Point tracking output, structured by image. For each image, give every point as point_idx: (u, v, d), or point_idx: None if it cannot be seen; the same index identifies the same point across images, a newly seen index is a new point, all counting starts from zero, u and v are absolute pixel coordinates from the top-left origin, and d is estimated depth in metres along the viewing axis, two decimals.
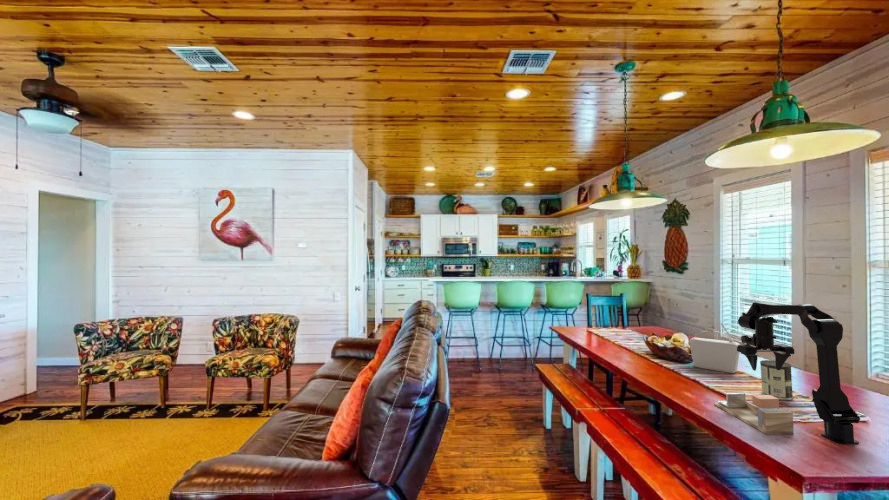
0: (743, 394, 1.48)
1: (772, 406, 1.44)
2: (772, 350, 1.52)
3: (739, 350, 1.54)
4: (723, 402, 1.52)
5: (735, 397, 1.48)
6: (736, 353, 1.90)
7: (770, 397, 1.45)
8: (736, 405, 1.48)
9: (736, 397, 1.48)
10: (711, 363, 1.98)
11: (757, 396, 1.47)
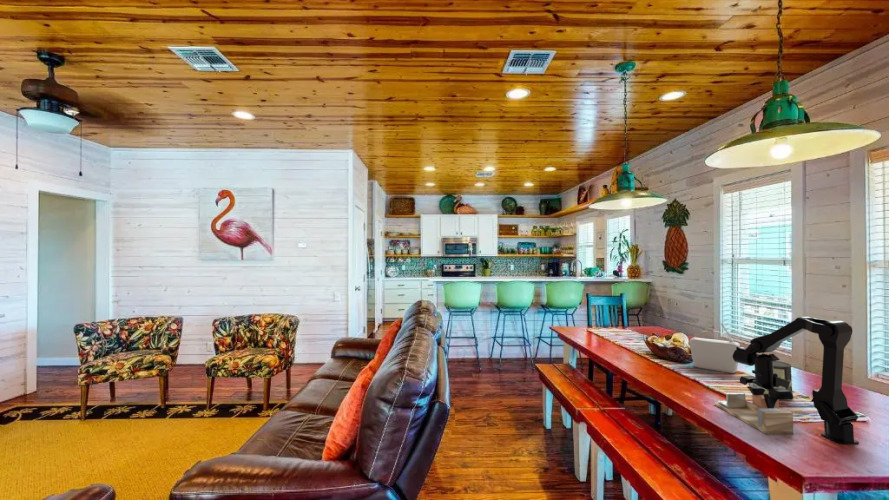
0: (743, 394, 1.48)
1: None
2: None
3: None
4: (723, 402, 1.52)
5: (735, 397, 1.48)
6: None
7: None
8: (736, 405, 1.48)
9: (736, 397, 1.48)
10: (711, 363, 1.98)
11: (757, 396, 1.47)
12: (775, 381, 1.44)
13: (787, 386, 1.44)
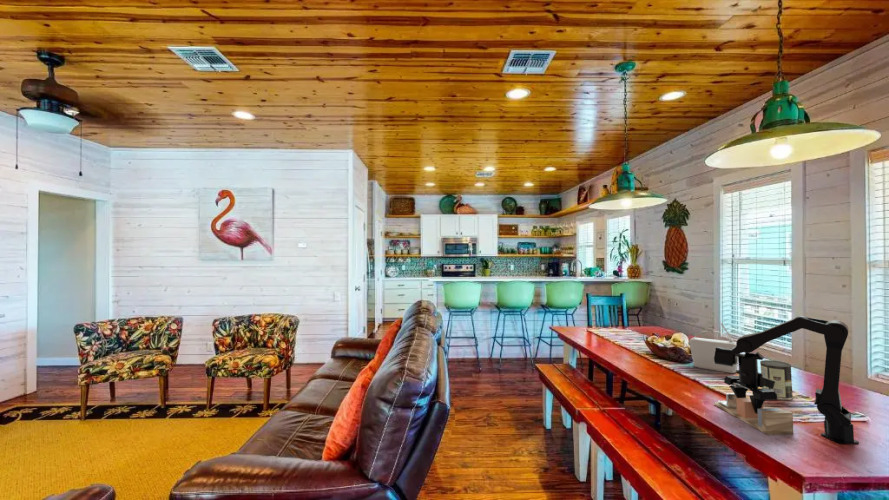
0: None
1: None
2: None
3: None
4: (723, 402, 1.52)
5: (735, 397, 1.48)
6: None
7: None
8: (736, 405, 1.48)
9: (736, 397, 1.48)
10: (711, 363, 1.98)
11: (741, 399, 1.42)
12: (759, 381, 1.39)
13: (772, 386, 1.39)
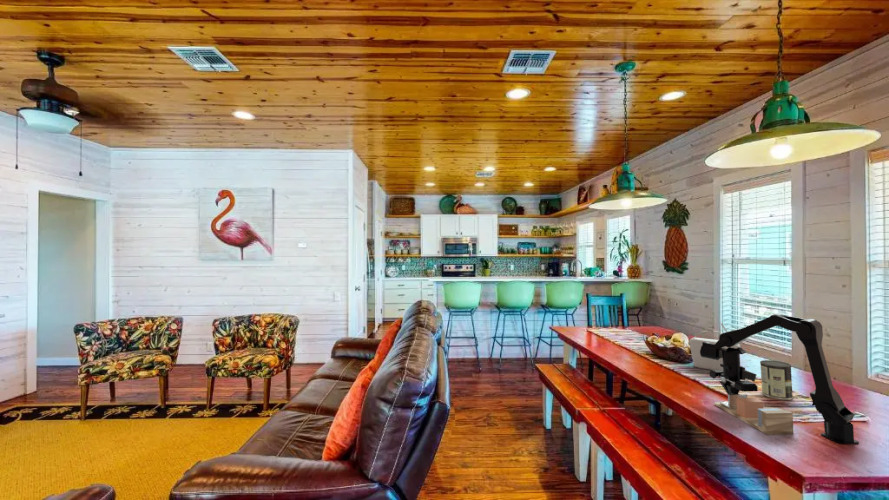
0: (745, 395, 1.47)
1: (756, 409, 1.40)
2: None
3: None
4: (725, 403, 1.51)
5: None
6: None
7: (754, 400, 1.41)
8: None
9: None
10: (711, 363, 1.98)
11: (741, 399, 1.42)
12: (741, 374, 1.48)
13: (753, 379, 1.48)
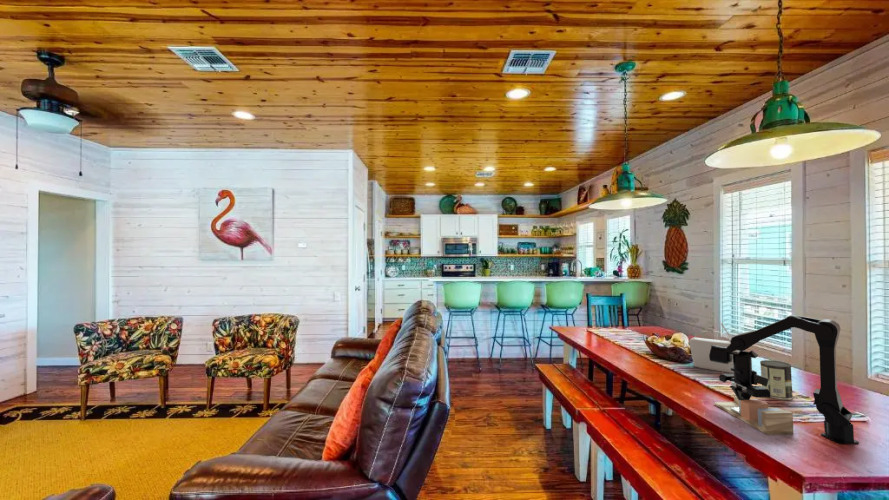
0: None
1: None
2: (738, 383, 1.46)
3: None
4: (735, 409, 1.46)
5: None
6: None
7: (758, 402, 1.39)
8: None
9: None
10: (711, 363, 1.98)
11: (745, 401, 1.40)
12: (753, 379, 1.42)
13: (765, 384, 1.42)
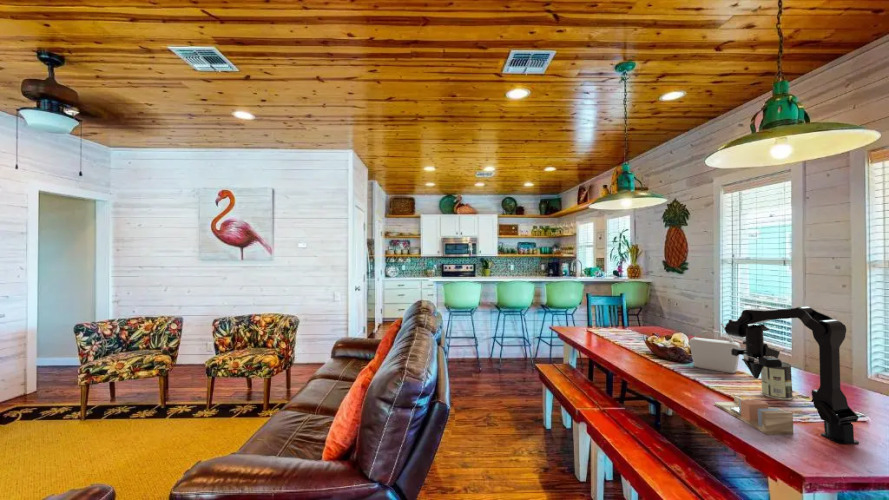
0: None
1: None
2: None
3: None
4: (735, 409, 1.45)
5: None
6: None
7: (759, 402, 1.38)
8: None
9: None
10: (711, 363, 1.98)
11: (746, 401, 1.40)
12: (765, 351, 1.48)
13: (777, 356, 1.48)
